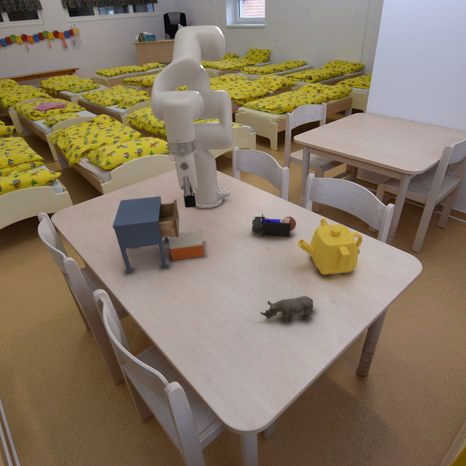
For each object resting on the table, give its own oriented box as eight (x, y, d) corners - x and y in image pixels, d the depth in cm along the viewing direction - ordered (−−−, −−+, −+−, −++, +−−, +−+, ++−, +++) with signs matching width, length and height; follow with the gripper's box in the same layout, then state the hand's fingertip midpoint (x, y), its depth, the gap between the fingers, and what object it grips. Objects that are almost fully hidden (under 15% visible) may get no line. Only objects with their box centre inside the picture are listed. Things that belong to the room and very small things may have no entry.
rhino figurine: (258, 314, 86) (258, 297, 83) (311, 307, 87) (312, 290, 84) (261, 326, 83) (261, 309, 79) (316, 319, 84) (318, 302, 80)
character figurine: (252, 228, 120) (295, 231, 118) (250, 239, 114) (295, 241, 111) (252, 209, 116) (296, 210, 114) (250, 218, 110) (296, 220, 108)
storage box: (203, 242, 114) (201, 230, 111) (204, 256, 107) (202, 243, 104) (172, 246, 113) (170, 233, 110) (171, 260, 106) (169, 247, 103)
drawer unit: (169, 240, 116) (160, 196, 106) (167, 268, 103) (157, 221, 94) (132, 244, 115) (120, 200, 105) (126, 273, 102) (112, 226, 92)
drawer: (180, 215, 109) (177, 199, 106) (179, 236, 99) (176, 220, 96) (148, 219, 109) (144, 203, 105) (144, 241, 98) (140, 224, 95)
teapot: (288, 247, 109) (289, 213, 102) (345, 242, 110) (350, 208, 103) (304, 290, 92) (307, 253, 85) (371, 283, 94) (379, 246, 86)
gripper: (197, 154, 85) (204, 217, 95) (195, 136, 97) (202, 194, 107) (167, 157, 84) (177, 220, 94) (169, 139, 97) (178, 196, 107)
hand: (190, 206), depth 101 cm, fingers closed
